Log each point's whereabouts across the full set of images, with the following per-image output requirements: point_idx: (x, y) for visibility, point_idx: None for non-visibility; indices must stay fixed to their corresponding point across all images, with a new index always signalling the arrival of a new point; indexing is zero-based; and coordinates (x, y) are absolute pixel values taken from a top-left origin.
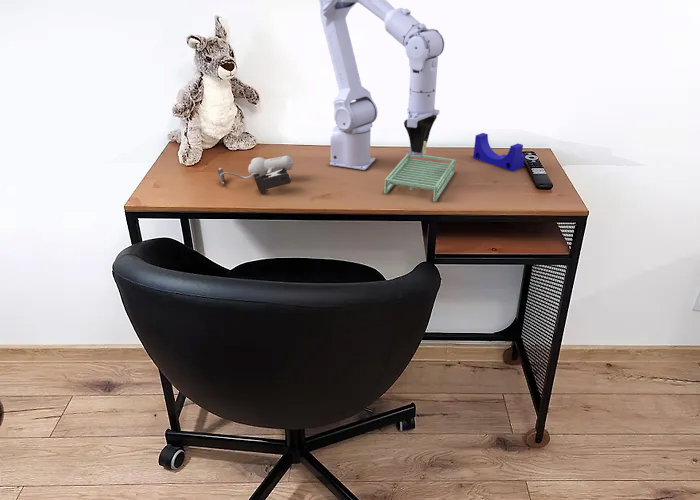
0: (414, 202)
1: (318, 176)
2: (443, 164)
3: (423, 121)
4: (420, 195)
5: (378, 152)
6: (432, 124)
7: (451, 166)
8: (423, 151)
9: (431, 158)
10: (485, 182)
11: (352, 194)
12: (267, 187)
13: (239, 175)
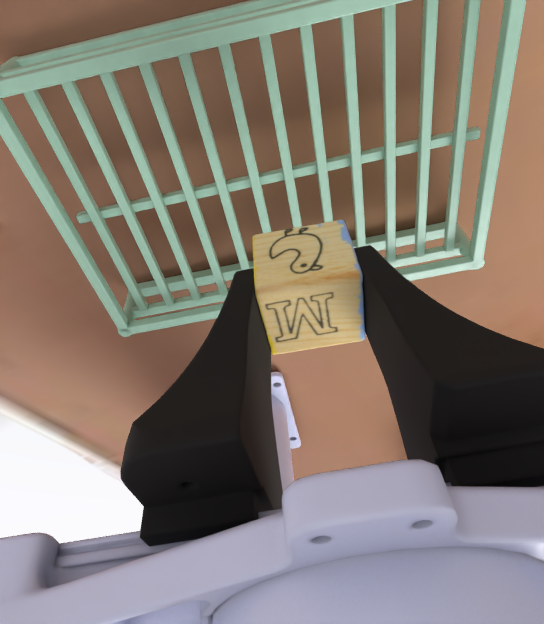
0: (518, 63)
1: (388, 423)
2: (60, 139)
3: (266, 453)
4: (419, 79)
5: (99, 411)
6: (205, 383)
7: (85, 57)
8: (329, 242)
9: (74, 227)
10: None
11: (493, 306)
12: None
13: None
